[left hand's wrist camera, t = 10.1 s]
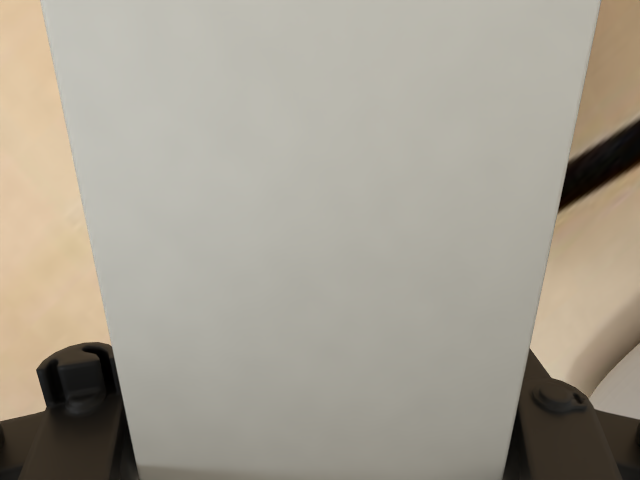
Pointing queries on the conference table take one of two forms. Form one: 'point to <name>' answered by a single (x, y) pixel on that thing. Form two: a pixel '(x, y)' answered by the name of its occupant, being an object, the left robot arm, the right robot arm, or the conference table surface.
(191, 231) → the bar
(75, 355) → the left robot arm
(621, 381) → the projector
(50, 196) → the conference table surface
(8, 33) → the conference table surface
